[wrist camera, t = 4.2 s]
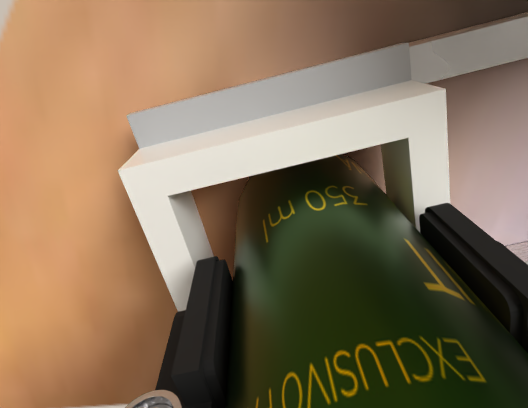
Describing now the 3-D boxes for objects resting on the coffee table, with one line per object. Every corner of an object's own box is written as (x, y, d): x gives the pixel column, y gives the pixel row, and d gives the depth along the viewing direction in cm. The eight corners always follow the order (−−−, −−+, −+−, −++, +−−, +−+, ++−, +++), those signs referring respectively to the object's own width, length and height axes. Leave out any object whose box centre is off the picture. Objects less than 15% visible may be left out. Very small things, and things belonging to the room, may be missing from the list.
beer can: (289, 287, 16) (376, 805, 5) (208, 198, 14) (84, 710, 3) (397, 219, 15) (796, 698, 4) (325, 112, 13) (702, 466, 2)
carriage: (403, 42, 11) (444, 43, 9) (425, 316, 15) (456, 365, 13) (130, 113, 12) (101, 131, 9) (225, 358, 16) (221, 412, 14)
